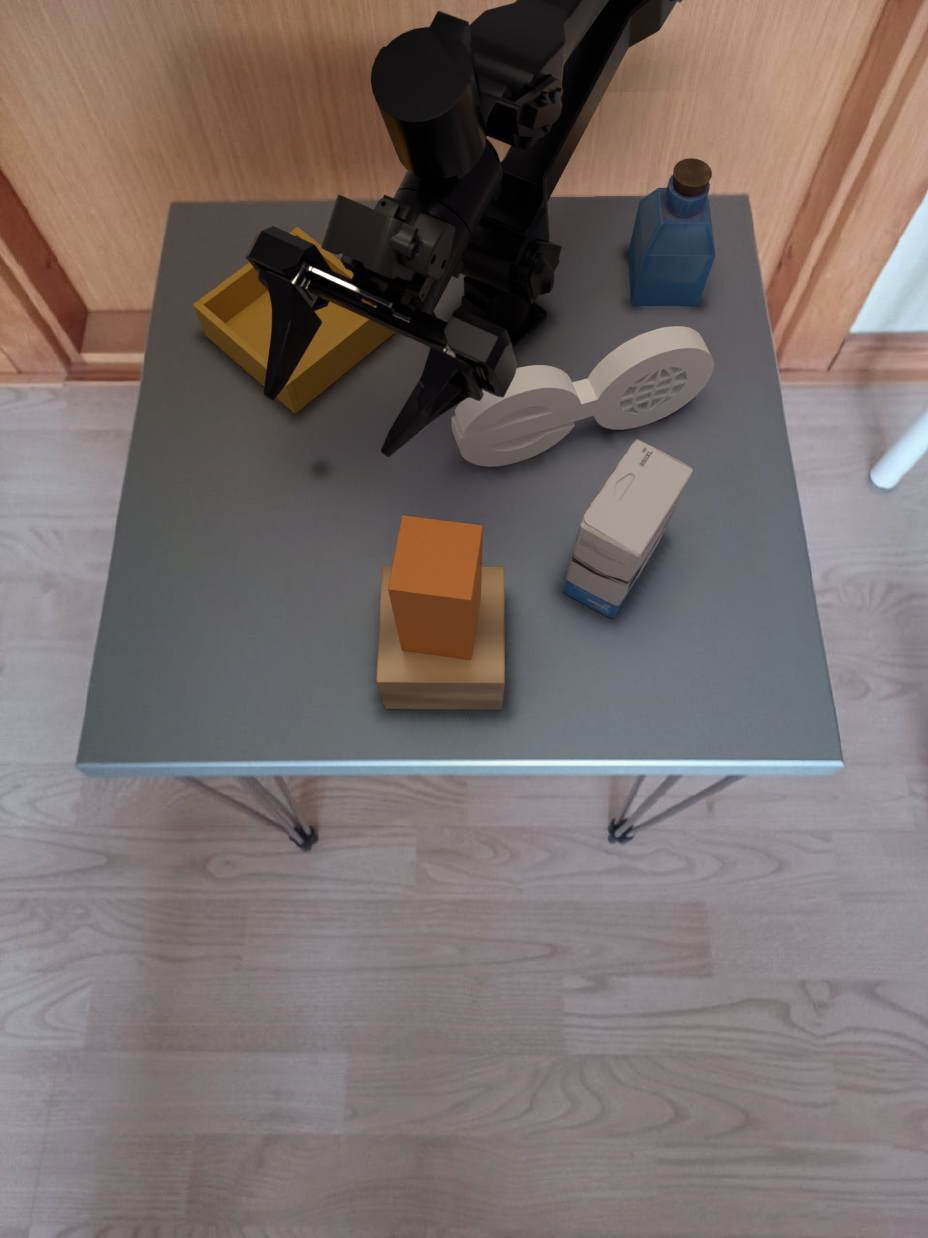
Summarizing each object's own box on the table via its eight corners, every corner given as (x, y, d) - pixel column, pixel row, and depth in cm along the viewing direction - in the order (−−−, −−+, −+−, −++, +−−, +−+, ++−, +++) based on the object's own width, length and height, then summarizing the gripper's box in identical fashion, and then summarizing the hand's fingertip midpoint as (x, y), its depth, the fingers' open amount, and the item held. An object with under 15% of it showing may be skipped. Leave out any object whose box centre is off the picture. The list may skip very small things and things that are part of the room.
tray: (305, 259, 83) (297, 226, 79) (395, 332, 80) (391, 301, 76) (205, 335, 80) (192, 304, 76) (295, 414, 77) (285, 385, 73)
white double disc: (686, 390, 78) (716, 312, 68) (696, 409, 77) (728, 333, 67) (452, 457, 75) (450, 386, 66) (460, 478, 74) (459, 410, 65)
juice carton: (413, 586, 63) (402, 514, 53) (481, 595, 63) (483, 524, 53) (401, 650, 61) (387, 589, 51) (471, 660, 61) (471, 600, 51)
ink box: (613, 622, 70) (640, 559, 59) (559, 592, 71) (575, 524, 60) (662, 540, 72) (697, 465, 61) (609, 512, 73) (634, 434, 62)
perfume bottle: (698, 305, 81) (734, 201, 70) (631, 305, 81) (657, 200, 70) (692, 253, 83) (726, 144, 72) (627, 253, 83) (652, 144, 72)
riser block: (390, 601, 70) (381, 565, 64) (501, 602, 70) (504, 565, 64) (385, 709, 67) (375, 682, 61) (501, 710, 67) (505, 683, 60)
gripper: (270, 87, 52) (150, 320, 52) (549, 201, 48) (420, 451, 48) (329, 193, 63) (230, 385, 63) (560, 292, 59) (455, 495, 59)
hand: (325, 425), depth 58 cm, fingers open, 9 cm apart
